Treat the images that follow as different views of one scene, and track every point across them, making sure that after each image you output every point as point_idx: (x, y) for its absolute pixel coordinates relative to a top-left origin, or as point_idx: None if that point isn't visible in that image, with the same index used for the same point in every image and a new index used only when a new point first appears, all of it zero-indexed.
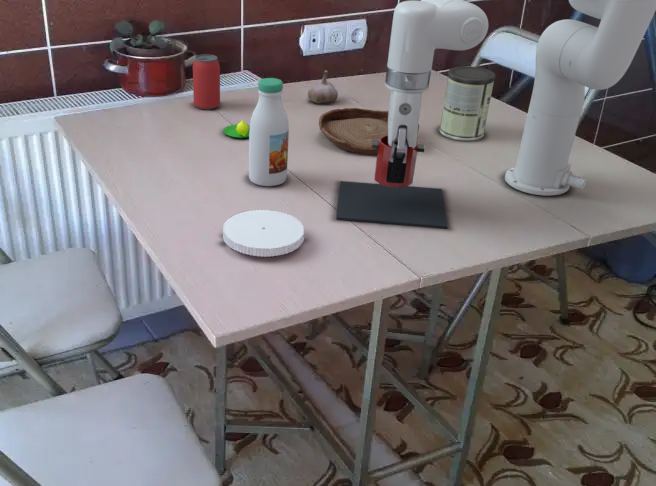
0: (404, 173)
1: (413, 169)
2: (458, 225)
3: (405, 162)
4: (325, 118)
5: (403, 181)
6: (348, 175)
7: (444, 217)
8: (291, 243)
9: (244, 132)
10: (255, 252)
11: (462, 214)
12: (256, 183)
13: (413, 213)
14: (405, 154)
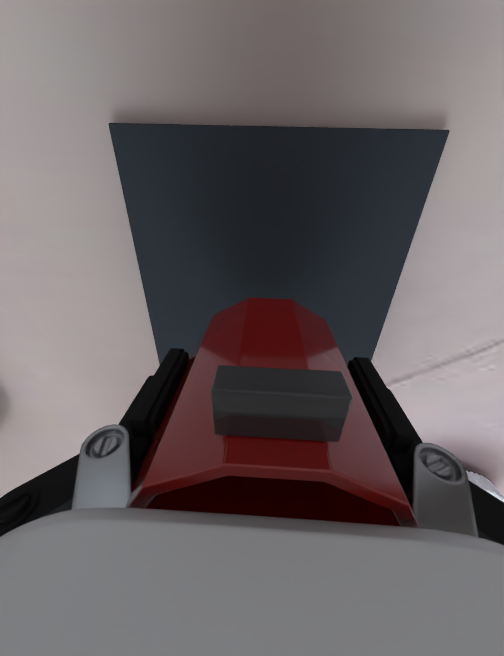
0: (384, 388)
1: (312, 339)
2: (423, 68)
3: (459, 461)
4: None
5: (368, 360)
6: (121, 392)
7: (374, 137)
8: (501, 498)
9: None
10: None
11: (320, 28)
12: None
13: (336, 257)
14: (467, 516)
